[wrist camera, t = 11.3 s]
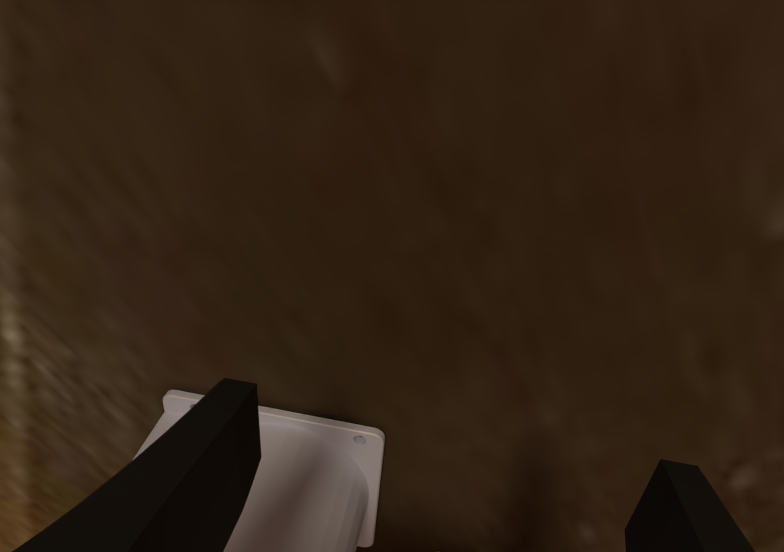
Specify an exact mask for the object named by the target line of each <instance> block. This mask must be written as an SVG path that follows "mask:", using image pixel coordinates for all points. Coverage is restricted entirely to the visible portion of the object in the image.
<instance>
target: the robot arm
mask: <svg viewBox="0 0 784 552" xmlns="http://www.w3.org/2000/svg"><path fill="white" fill-rule="evenodd" d="M163 405H164V410H165V412H164V414H163V415H162V417H161V418H160V420H159V421H158V423H157V424H156V426H155V427H154V429H153V430H152V432H151V433H150V435H149V436H148V438H147V439H146V441H145V442H144V444H143V445H142V447H141V448H140V450H139V451H138V453H137V454H136V456H135V457H134V459H133V460H132V461H131V462H130V463H129V464H128V465H127V466H125V467H124V468H123V469H122V470H121V471H119V472H118V473H117V474H116V475H114V476H113V477H112V478H111V479H109V480H108V481H107V482H106V483H104V484H103V485H102V486H101V487H99V488H98V489H97V490H96V491H94V492H93V493H92V494H91V495H89V496H88V497H87V498H86V499H84V500H83V501H82V502H81V503H79V504H78V505H77V506H75V507H74V508H73V509H71V510H70V511H69V512H67V513H66V514H65V515H63V516H62V517H61V518H59V519H58V520H57V521H55V522H54V523H52V524H51V525H50V526H48V527H47V528H45V529H44V530H43V531H41V532H40V533H38V534H37V535H36V536H34V537H33V538H31V539H30V540H28V541H27V542H25V543H24V544H23V545H21V546H20V547H18V548H17V549H15V550H14V551H12V552H356V549H357V546H360V547H370V546H371V545H372V544H373V542H374V537H375V528H376V519H377V509H378V500H379V491H380V482H381V473H382V463H383V454H384V445H385V435H384V433H383V432H382V431H381V430H379V429H377V428H374V427H368V426H363V425H358V424H353V423H347V422H342V421H337V420H332V419H326V418H321V417H316V416H311V415H305V414H300V413H295V412H290V411H284V410H279V409H274V408H269V407H263V406H258V396H257V384H255V383H250V382H244V381H239V380H233V379H228V378H224V379H223V380H221V381H220V382H218V383H217V384H216V385H215V386H214V387H213V388H212V389H211V390H210V391H209V392H208V393H207V394H206V395H200V394H195V393H190V392H184V391H179V390H170V391H168V392H167V393H166V395H165V396H164V398H163ZM360 436H362V437H360ZM625 542H626V552H755V551H754V549H753V548H752V546H751V545H750V543H749V542H748V540H747V539H746V537H745V536H744V534H743V533H742V532H741V530H740V529H739V527H738V526H737V524H736V523H735V521H734V520H733V518H732V517H731V515H730V514H729V512H728V511H727V509H726V508H725V506H724V505H723V503H722V502H721V500H720V499H719V497H718V496H717V494H716V493H715V491H714V490H713V488H712V487H711V485H710V484H709V482H708V481H707V479H706V478H705V476H704V475H703V473H702V472H701V470H700V469H699V467H698V466H694V465H689V464H684V463H678V462H673V461H668V460H662V459H661V460H660V462H659V464H658V466H657V468H656V470H655V471H654V473H653V475H652V477H651V479H650V481H649V483H648V485H647V487H646V489H645V491H644V493H643V495H642V497H641V499H640V501H639V503H638V505H637V507H636V509H635V511H634V513H633V515H632V517H631V519H630V520H629V522H628V524H627V526H626V528H625Z"/></svg>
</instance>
